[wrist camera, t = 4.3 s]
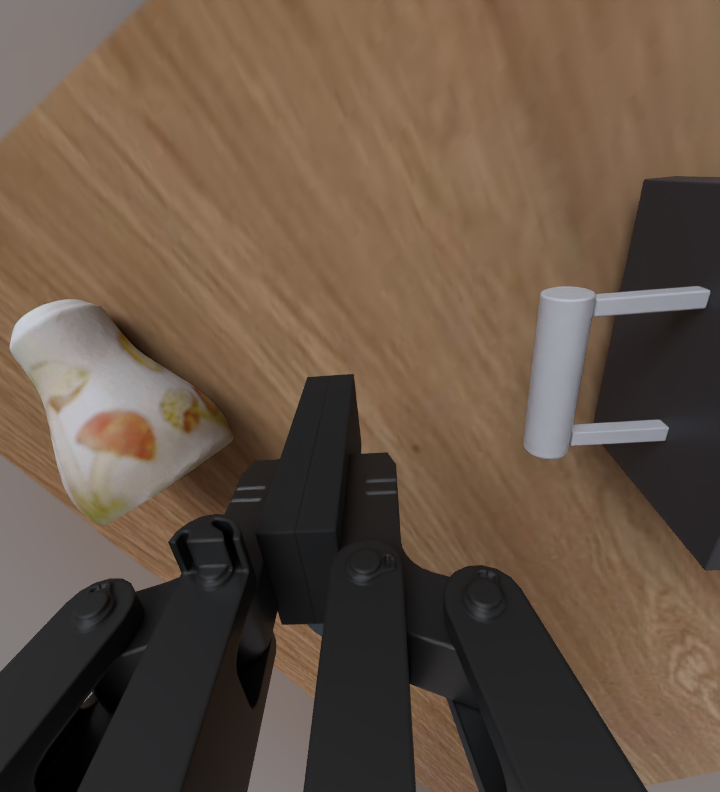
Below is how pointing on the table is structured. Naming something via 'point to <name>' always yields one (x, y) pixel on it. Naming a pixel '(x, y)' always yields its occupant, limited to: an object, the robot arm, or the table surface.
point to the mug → (112, 409)
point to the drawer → (647, 363)
